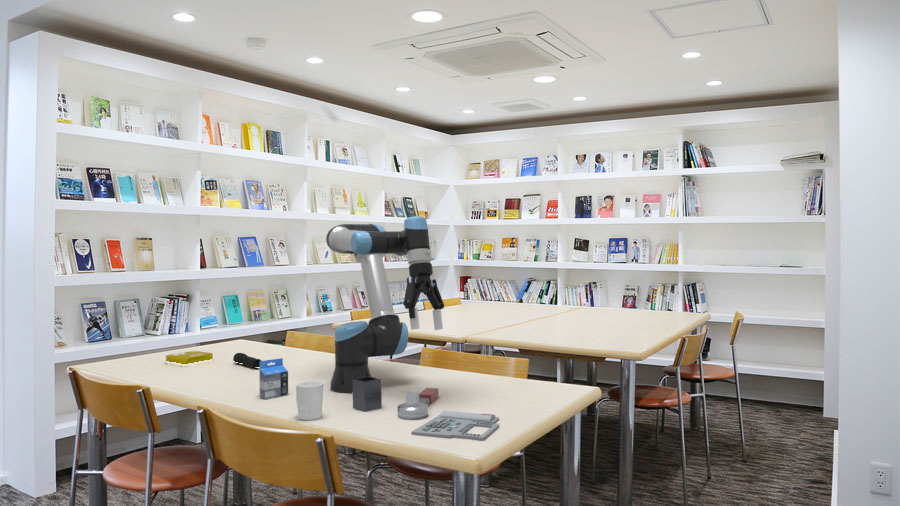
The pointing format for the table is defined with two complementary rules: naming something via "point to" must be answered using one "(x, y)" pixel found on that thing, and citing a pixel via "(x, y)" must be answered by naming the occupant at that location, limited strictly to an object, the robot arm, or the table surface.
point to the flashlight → (246, 360)
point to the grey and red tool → (417, 404)
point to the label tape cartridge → (273, 379)
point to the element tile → (189, 357)
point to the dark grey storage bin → (367, 393)
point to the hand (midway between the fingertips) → (427, 329)
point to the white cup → (309, 400)
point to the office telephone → (458, 425)
